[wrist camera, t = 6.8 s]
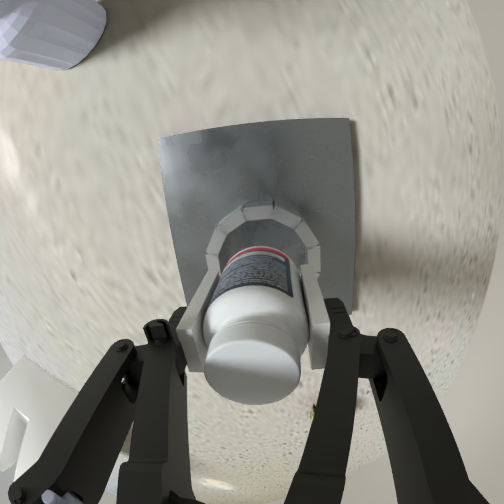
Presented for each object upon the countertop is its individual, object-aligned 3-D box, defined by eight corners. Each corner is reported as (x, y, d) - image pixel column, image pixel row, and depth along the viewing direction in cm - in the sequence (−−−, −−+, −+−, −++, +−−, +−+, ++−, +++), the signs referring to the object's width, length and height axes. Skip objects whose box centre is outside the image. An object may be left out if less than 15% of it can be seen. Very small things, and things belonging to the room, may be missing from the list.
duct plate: (160, 139, 21) (146, 138, 19) (346, 119, 20) (356, 114, 17) (193, 319, 27) (185, 336, 24) (349, 310, 26) (356, 327, 23)
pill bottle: (207, 270, 18) (161, 355, 10) (271, 228, 17) (268, 299, 9) (252, 325, 20) (238, 423, 11) (314, 291, 18) (336, 387, 10)
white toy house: (91, 434, 43) (52, 509, 20) (41, 402, 42) (-3, 466, 19) (82, 394, 36) (23, 492, 13) (24, 354, 36) (-40, 430, 12)
